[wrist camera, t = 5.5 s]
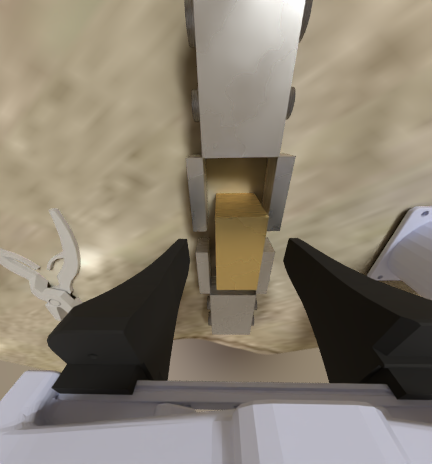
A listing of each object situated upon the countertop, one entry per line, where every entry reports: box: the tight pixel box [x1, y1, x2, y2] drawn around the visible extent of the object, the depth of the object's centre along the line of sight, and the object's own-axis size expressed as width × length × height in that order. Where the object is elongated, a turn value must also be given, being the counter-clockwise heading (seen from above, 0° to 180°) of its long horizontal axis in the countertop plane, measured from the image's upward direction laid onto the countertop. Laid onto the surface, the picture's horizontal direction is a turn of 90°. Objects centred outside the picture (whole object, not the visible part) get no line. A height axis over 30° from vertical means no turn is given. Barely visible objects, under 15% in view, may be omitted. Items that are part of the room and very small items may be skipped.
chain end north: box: [196, 237, 275, 335], centre depth 17 cm, size 6×12×2 cm, turn 1°
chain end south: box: [185, 0, 313, 231], centre depth 10 cm, size 6×12×2 cm, turn 1°
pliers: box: [0, 208, 82, 321], centre depth 17 cm, size 10×2×15 cm
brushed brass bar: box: [215, 193, 269, 290], centre depth 12 cm, size 3×6×4 cm, turn 1°
